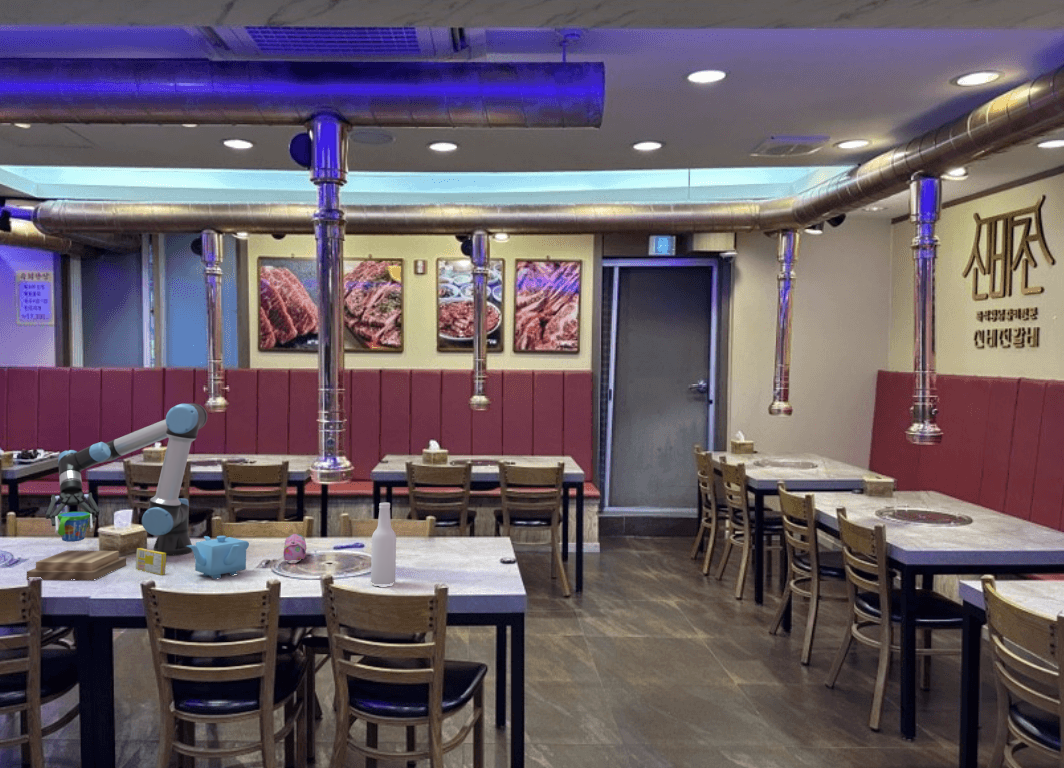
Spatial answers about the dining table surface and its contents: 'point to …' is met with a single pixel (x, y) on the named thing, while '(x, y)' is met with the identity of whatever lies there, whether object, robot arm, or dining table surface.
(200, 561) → the teakettle
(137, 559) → the candy box
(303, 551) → the pencil case
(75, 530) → the snack cup
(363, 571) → the dining table surface
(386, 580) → the alcohol
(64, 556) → the walnut stand
